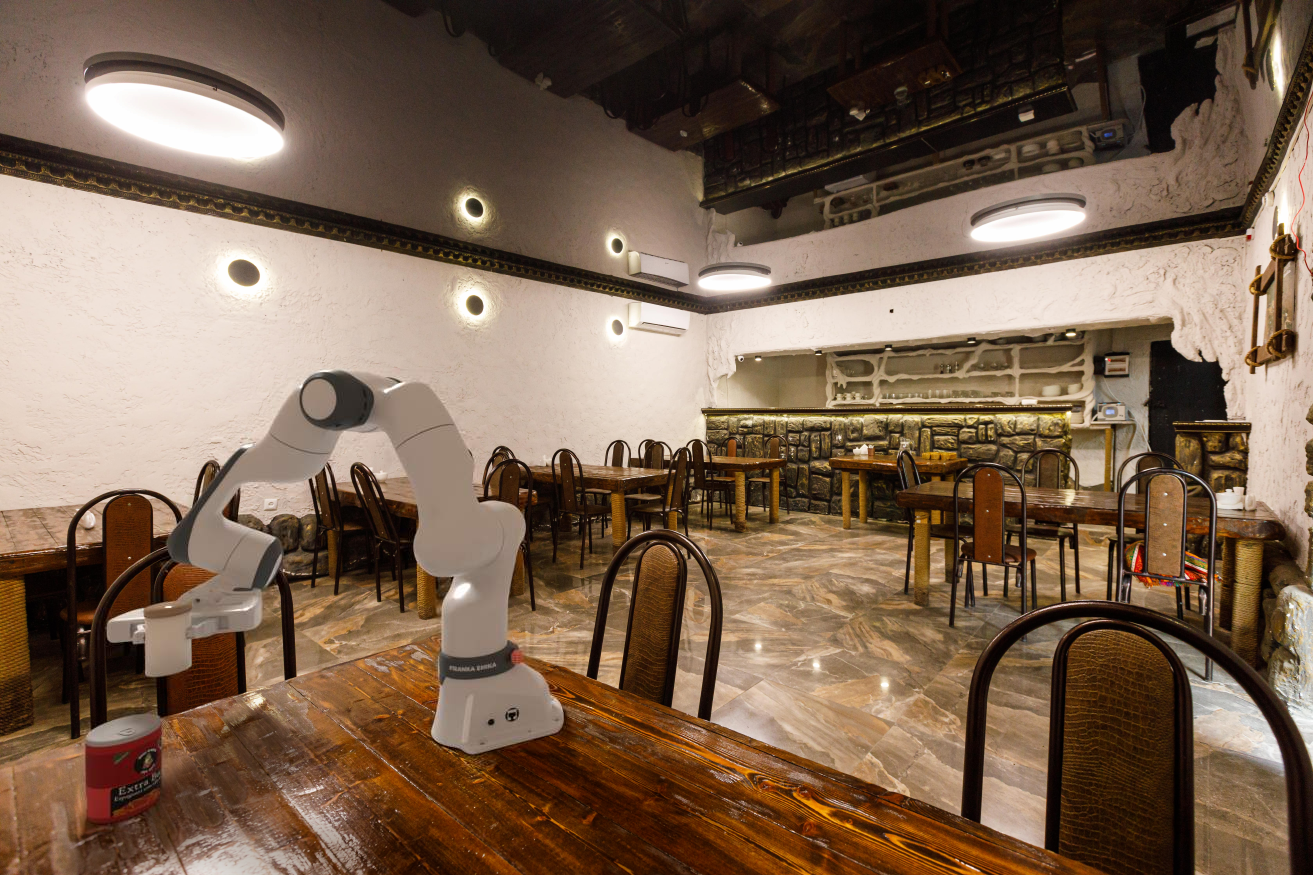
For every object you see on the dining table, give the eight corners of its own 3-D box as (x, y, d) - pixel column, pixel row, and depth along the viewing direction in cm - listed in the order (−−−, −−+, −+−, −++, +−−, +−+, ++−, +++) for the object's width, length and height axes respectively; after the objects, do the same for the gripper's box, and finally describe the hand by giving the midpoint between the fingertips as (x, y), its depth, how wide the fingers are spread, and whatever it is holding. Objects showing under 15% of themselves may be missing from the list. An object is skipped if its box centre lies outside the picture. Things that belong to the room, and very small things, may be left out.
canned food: (116, 829, 74) (116, 744, 74) (68, 820, 75) (68, 738, 75) (176, 792, 81) (176, 716, 81) (132, 785, 83) (132, 710, 83)
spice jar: (199, 659, 93) (198, 599, 93) (181, 674, 88) (181, 609, 88) (156, 664, 91) (155, 602, 91) (135, 679, 86) (135, 613, 86)
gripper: (134, 597, 99) (81, 622, 85) (270, 587, 105) (241, 609, 92) (134, 633, 99) (81, 664, 85) (271, 621, 105) (241, 648, 92)
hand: (165, 636), depth 89 cm, fingers closed on spice jar, 5 cm apart
